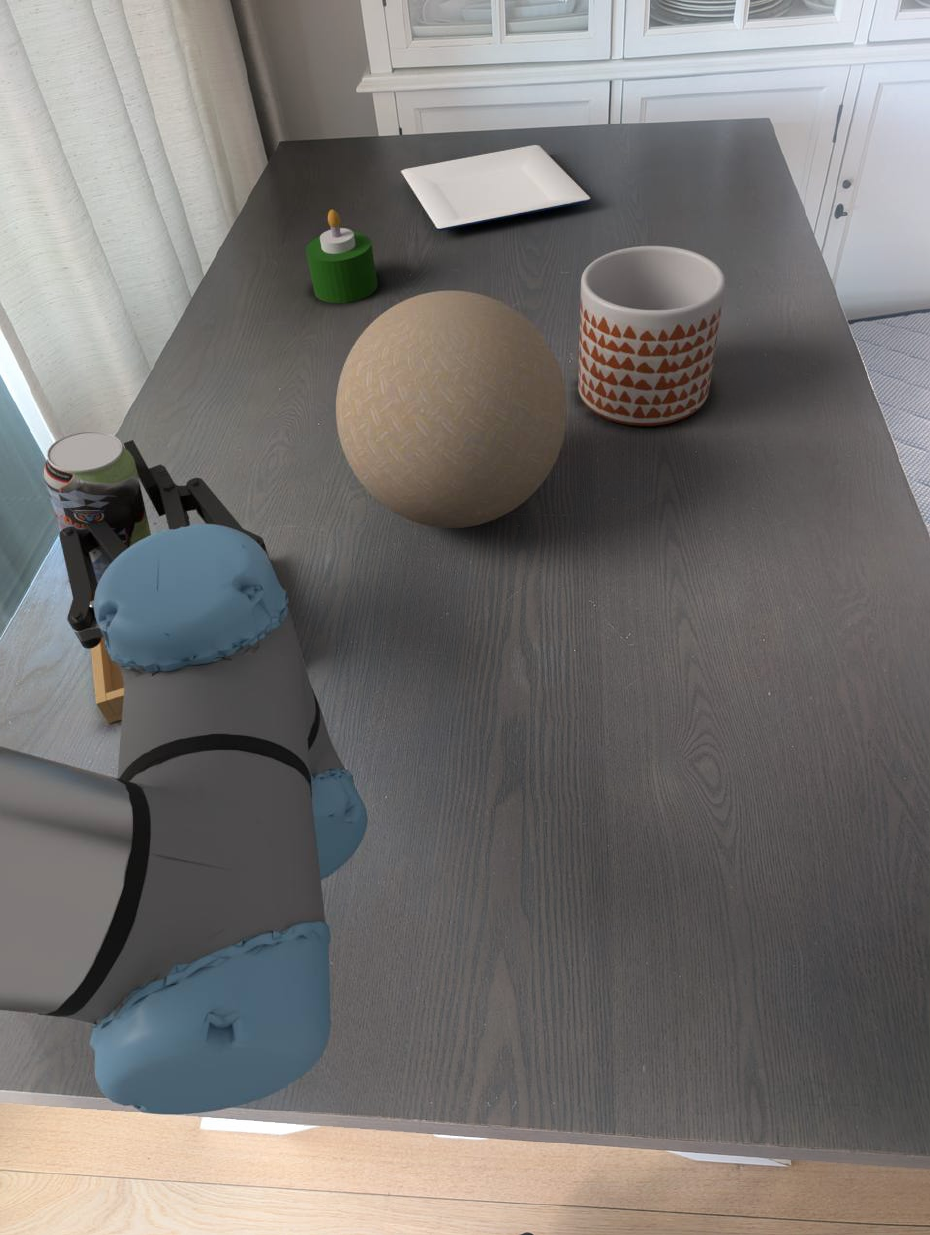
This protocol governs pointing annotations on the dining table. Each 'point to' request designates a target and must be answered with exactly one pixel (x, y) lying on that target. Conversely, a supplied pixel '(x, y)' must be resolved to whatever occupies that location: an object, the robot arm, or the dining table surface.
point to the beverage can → (96, 488)
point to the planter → (648, 333)
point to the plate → (492, 187)
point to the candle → (341, 264)
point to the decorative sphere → (451, 409)
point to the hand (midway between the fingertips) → (110, 465)
